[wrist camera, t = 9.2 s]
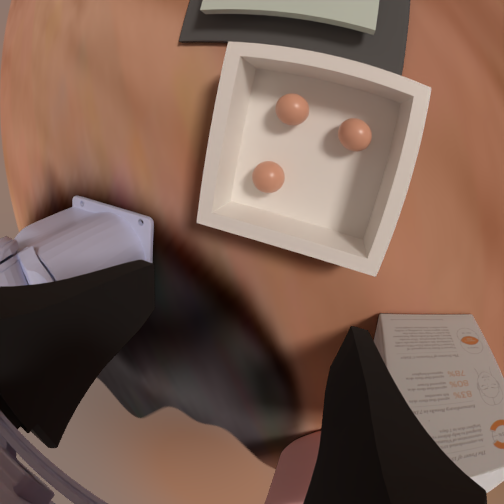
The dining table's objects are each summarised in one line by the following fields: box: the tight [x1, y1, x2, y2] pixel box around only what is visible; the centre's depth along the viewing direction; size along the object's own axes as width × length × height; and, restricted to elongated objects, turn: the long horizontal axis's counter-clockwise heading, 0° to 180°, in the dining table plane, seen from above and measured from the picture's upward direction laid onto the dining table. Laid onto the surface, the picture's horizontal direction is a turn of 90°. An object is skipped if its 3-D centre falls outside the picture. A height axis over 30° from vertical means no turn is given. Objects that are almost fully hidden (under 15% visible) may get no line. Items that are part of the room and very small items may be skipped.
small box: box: [374, 314, 504, 493], centre depth 12 cm, size 8×6×13 cm
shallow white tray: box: [197, 41, 431, 277], centre depth 14 cm, size 10×10×4 cm
